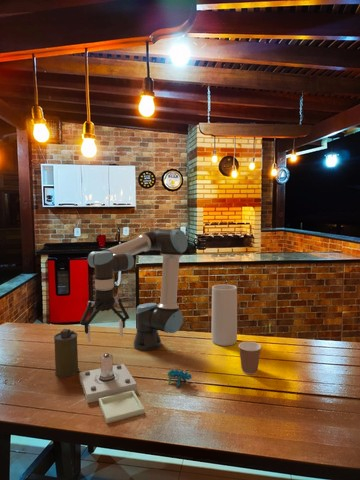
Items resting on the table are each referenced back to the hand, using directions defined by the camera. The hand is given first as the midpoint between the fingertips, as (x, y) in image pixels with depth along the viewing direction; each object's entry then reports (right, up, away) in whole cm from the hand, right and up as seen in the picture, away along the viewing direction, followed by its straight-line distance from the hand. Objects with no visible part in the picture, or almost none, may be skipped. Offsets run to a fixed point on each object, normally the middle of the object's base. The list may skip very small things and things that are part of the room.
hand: (105, 338), depth 144 cm
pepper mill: (0, -21, +2) cm, 21 cm away
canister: (-21, -20, +15) cm, 33 cm away
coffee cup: (+64, -20, +15) cm, 68 cm away
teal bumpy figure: (+31, -21, +4) cm, 38 cm away
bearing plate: (0, -21, +2) cm, 21 cm away
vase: (+56, -17, +50) cm, 77 cm away
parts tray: (+9, -22, -15) cm, 28 cm away
